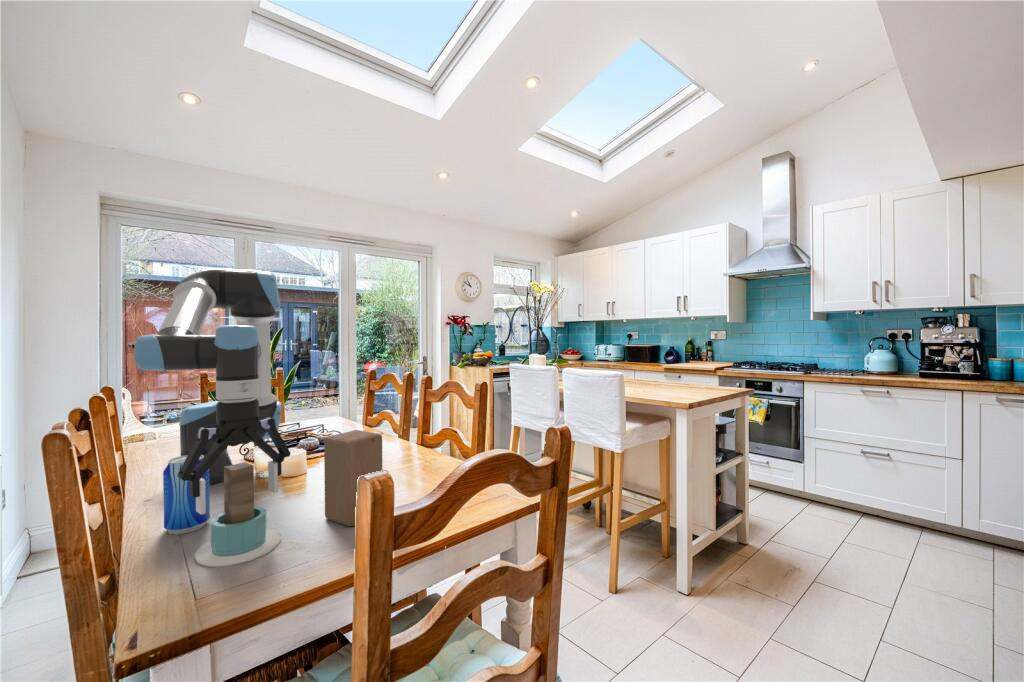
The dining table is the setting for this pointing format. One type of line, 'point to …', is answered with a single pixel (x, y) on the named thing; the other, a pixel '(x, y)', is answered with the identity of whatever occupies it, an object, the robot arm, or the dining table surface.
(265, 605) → the dining table surface
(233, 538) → the teal cup on saucer
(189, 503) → the beer can
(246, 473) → the tall brown block
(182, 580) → the dining table surface
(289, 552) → the dining table surface
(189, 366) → the robot arm
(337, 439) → the wooden block
